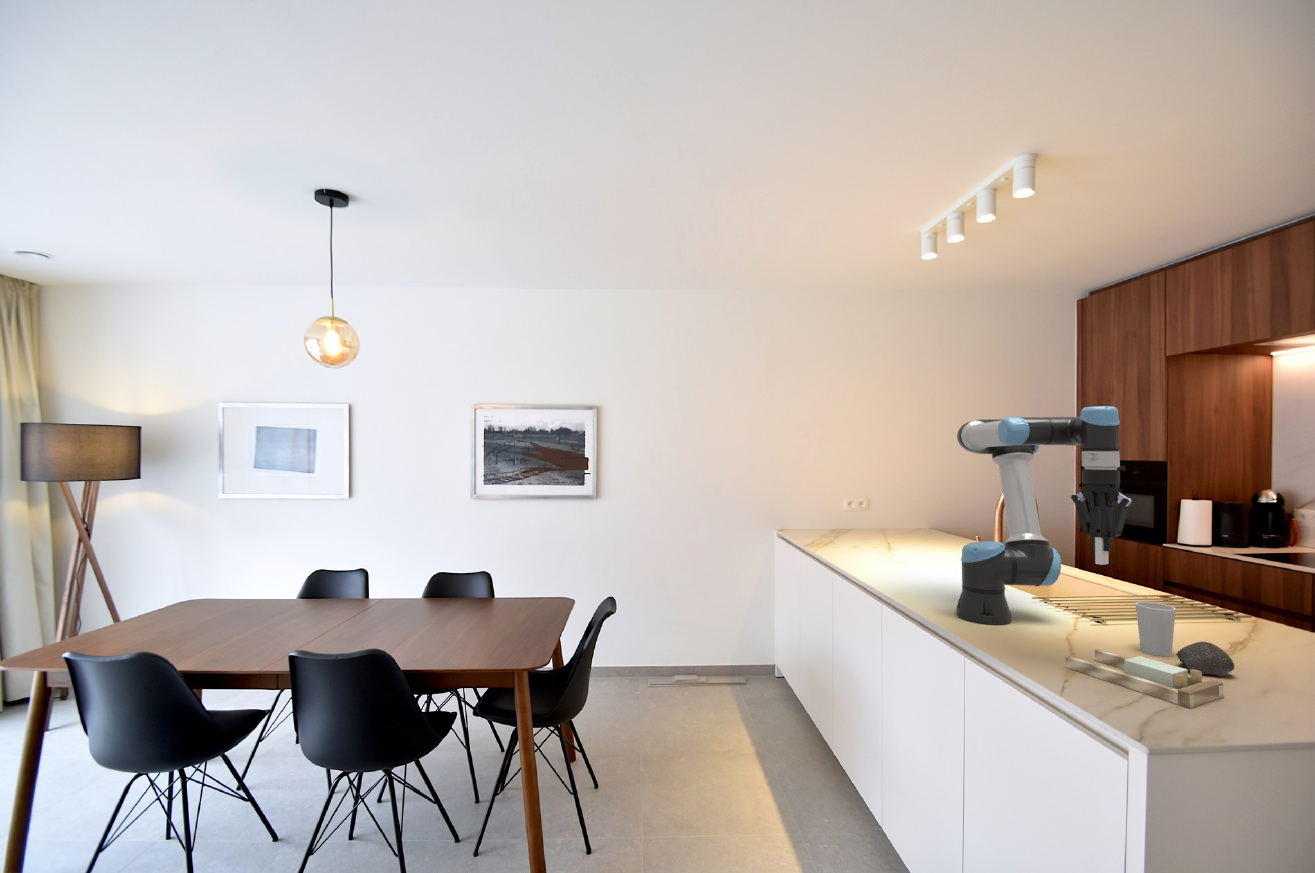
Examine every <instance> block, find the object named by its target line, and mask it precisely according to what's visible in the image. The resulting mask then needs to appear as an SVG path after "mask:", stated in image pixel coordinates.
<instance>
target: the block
mask: <svg viewBox="0 0 1315 873" xmlns="http://www.w3.org/2000/svg"><path fill="white" fill-rule="evenodd" d="M1129 658H1130V659H1126V660H1124V669H1123V670H1124V672H1123V673H1126V674H1129V675H1133V676H1136V677H1139V678H1142V679H1146V680H1149V681H1152V682H1155V683H1158V684H1162V685H1165V686H1168V687H1171V688H1175V674H1182V675H1185V676H1187V687H1188V675H1189V672H1188V671H1189V669H1186V668H1183V667H1180V666H1176V665H1173V664H1169V663H1165V662H1161V661H1159V660H1156V659H1151V658H1147V657H1145V656H1141V655H1137V656H1135V657H1129Z"/></svg>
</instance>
